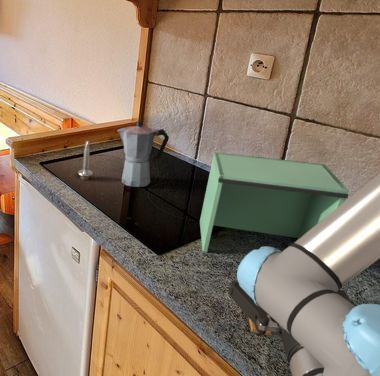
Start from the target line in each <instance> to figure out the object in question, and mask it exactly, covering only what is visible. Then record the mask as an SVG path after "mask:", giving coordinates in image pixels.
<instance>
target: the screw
mask: <svg viewBox="0 0 380 376" xmlns="http://www.w3.org/2000/svg"><path fill="white" fill-rule="evenodd" d="M82 161H83V162H82V169H80V170H78V171H77V175H78V176H80V180H83V181H89V179H90V177H91V176H93V175H94V172H93V171H92V170H91V169H89V168H90V167H89V165H90V141H89V140H85V141H84V149H83V160H82Z"/></svg>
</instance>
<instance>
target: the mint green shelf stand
mask: <svg viewBox="0 0 380 376" xmlns="http://www.w3.org/2000/svg"><path fill="white" fill-rule="evenodd" d="M349 192H350V190H349V189H348V188H347V187H346V186H345V185H344V183H343V182H341V180H340V179H339V178H338V177H337V176H336V175H335V173H333V171H332V170H331V169H330V168H329V167H328V166H327V165H326V164H325V163H319V162H318V163H317V162H307V161H300V160H299V161H297V160H289V159H279V158H270V157H262V156H261V157H260V156H251V155H245V154H244V155H242V154H234V153H224V152H213V156H212V161H211V165H210V170H209V175H208V180H207V185H206V191H205V194H204V199H203V204H202V209H201V212H200V213H201V214H200V219H199V227H200V237H201V249H202V252H203V253H208V251H209V245H210V242H211V237H212V232H213V230H214V229H213V228H214V226H215V227H222V228H228V229H233V230H234V229H236V230H241V231H242V230H243V231H248V232H253V233H255V232H256V233H262V234H267V235H273V236H279V237H280V236H282V237H286V238H287V237H288V238H294V239H297V240H298V239H299V238H301V237H302V236H303V235H304V234H306V233H307V232H308V231H309V230H311V229H312V228H313V227H314V226H316V225H317V224H318V223H319V222H320V221H322V220H323V219H324V218H325V217H327V216H328V215H329V214H330V213H332V212H333V211H334V210H335V209H337V208H338V207H339V206H340V205H342V204H343V203H344V202H345V201H347V199H349Z"/></svg>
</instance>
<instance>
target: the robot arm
mask: <svg viewBox="0 0 380 376" xmlns="http://www.w3.org/2000/svg"><path fill="white" fill-rule="evenodd" d="M379 259H380V173H379V174H378V175H376V176H375V177H373V179H371V180H370V181H369V182H367V183H366V184H365V185H364V186H363V187H361V188H360V189H359V190H357V192H355V193H354V194H353V195H352V196H350V197H348V198H347V199H346V200H345V202H344V203H343V204H342V205H340V206H339V207H338V208H337V209H335V210H334V211H333V212H332V213H330V214H329V215H328V216H327V217H325V218H324V219H323V220H322V221H320V222H319V223H318V224H317V225H316V226H314V227H313V228H312V229H311V230H309V231H308V232H307V233H306V234H304V235H303V236H302V237H301V238H299V239H298V238H297V240H295V241H294V242H293V243H291V244H290V245H289V246H288V247H286V248H285V249H284V250H283V251H282V250H280V249H277V248H275V247H274V246H273V247H272V246H267V245H265V246H261V247H260V248H259V249H253V250H251V251H250V252H249V253H247V254H246V255H245V256H244V257H243V258H242V259H241V261H240V263H239V265H238V266H237V270H236V271H237V272H236V280H237V281H235V280H233V281H231V282H230V286H229V290H228V294H227V295H228V296H229V297H230V298H231V299H232V301H233V302H234V303H235V304H236V305H237V306H238V307H239V309H241V311H242V312H243V313H244V315H246V316H247V318H248V317H249V318H250V320H251V321H252V322H253V323H254V325H255V328H256V330H257V332H258V333H259V334H258V333H257V334H258V335H262V336H265V335H264V334H265V333H266V331H271V332H272V333H273V332H274V333H277V335H278V336H279V337H280V338H281V342H282V346H283V350H284V353H285V356H286V360H287V363H288V366H289V369H290V372H291V376H380V304H377V303H362V304H361V303H360V304H356V303H355V302H354V301H353V300H351V299H350V297H349V295H348V294H347V292H346V291H345V290H343V289H342V288H343V287H344V286H346V284H348V283H349V282H350V281H352V280H353V279H354V278H356V277H357V276H358V275H359V274H361V273H362V272H363V271H365V270H366V269H367V268H369V267H370V266H371V265H372V264H374V263H376V261H378V260H379ZM249 318H248V319H249Z"/></svg>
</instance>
